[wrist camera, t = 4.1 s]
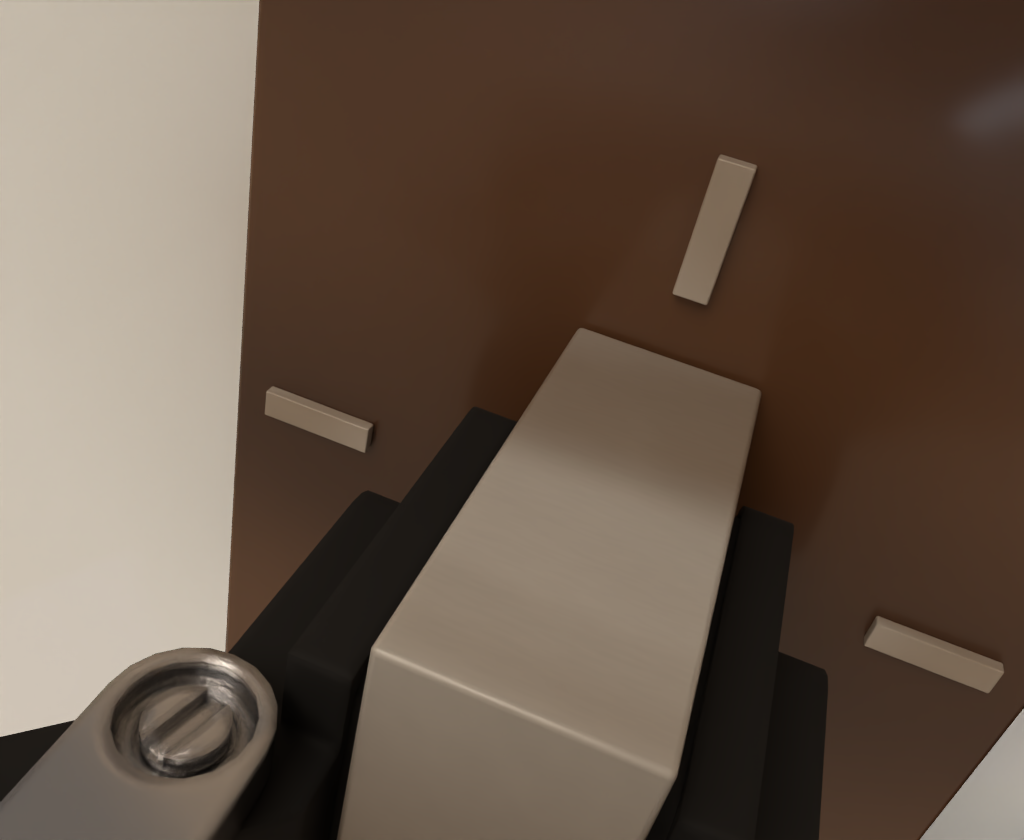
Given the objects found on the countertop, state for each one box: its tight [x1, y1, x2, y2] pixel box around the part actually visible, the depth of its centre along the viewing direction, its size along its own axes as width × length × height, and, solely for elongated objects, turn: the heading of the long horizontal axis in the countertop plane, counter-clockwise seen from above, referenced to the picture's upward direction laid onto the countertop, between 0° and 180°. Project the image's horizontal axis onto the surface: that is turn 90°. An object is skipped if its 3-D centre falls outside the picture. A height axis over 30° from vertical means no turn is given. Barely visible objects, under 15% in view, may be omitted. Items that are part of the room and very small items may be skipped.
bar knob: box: [337, 328, 761, 840], centre depth 9 cm, size 5×2×5 cm, turn 168°
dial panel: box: [225, 0, 1024, 840], centre depth 12 cm, size 13×10×3 cm
